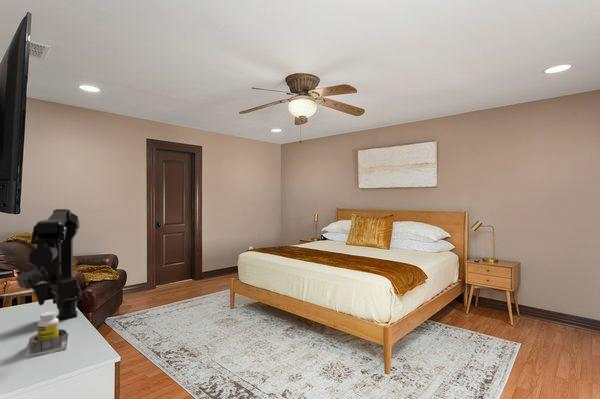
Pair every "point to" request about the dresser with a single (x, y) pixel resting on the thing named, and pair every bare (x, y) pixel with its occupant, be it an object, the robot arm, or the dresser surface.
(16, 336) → the dresser surface
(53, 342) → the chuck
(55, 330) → the supplement bottle
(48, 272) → the robot arm
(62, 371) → the dresser surface
